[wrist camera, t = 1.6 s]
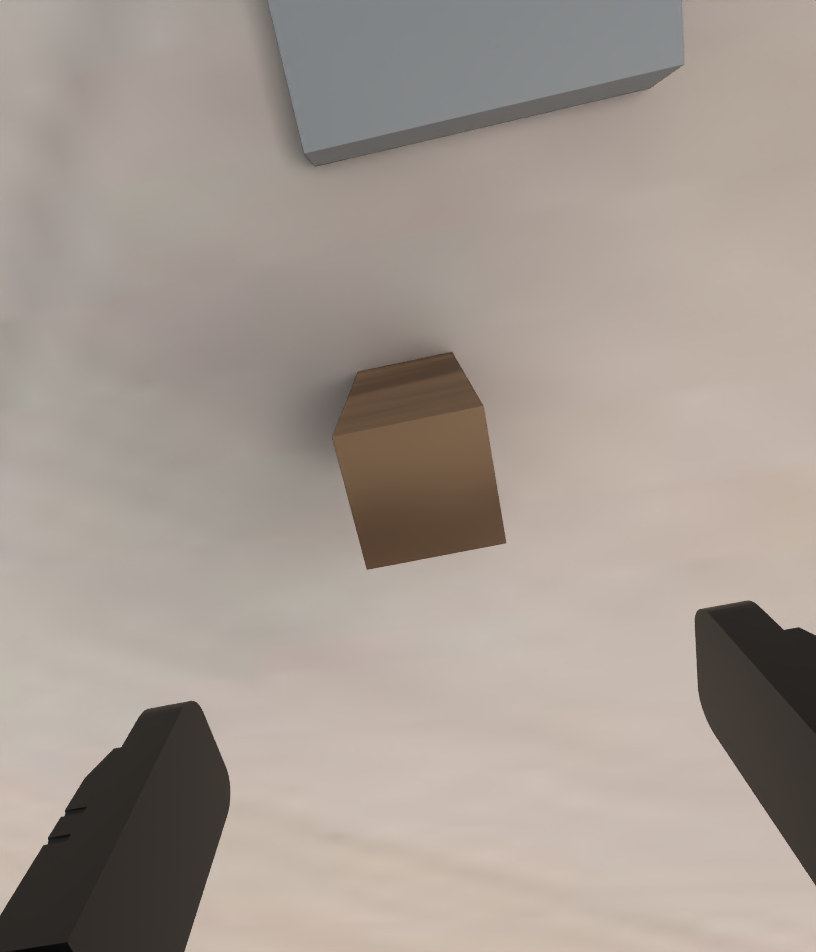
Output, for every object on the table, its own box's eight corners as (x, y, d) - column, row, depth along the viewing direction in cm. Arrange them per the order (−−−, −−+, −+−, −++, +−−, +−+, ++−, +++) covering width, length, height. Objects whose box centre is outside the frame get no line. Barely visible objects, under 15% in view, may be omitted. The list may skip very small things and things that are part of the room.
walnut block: (357, 371, 27) (331, 436, 17) (451, 351, 27) (483, 406, 17) (378, 460, 29) (366, 569, 19) (468, 442, 29) (506, 543, 18)
